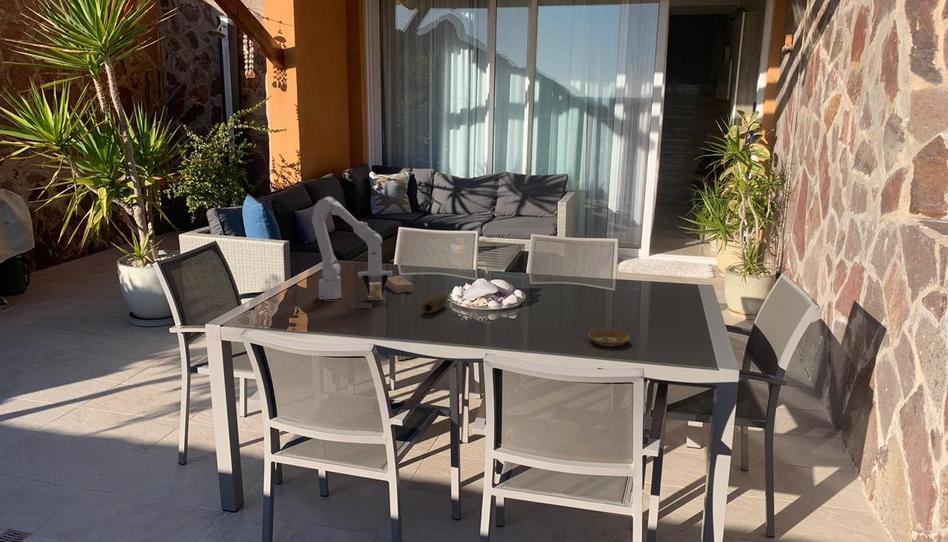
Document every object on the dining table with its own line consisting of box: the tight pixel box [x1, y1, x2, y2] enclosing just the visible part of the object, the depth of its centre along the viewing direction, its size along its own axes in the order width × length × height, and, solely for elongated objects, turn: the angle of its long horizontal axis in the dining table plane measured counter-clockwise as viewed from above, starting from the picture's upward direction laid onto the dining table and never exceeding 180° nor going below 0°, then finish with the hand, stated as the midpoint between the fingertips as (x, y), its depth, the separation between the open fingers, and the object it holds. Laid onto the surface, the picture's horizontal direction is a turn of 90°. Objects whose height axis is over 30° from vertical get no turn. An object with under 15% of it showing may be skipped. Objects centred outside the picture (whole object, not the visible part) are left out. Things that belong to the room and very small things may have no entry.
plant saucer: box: [588, 329, 631, 348], centre depth 265 cm, size 15×15×3 cm
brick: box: [384, 275, 414, 294], centre depth 337 cm, size 17×8×5 cm, turn 26°
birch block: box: [369, 281, 383, 299], centre depth 317 cm, size 5×5×6 cm
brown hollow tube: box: [421, 291, 448, 314], centre depth 303 cm, size 15×7×7 cm, turn 165°
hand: (375, 292), depth 318 cm, fingers open, 5 cm apart
